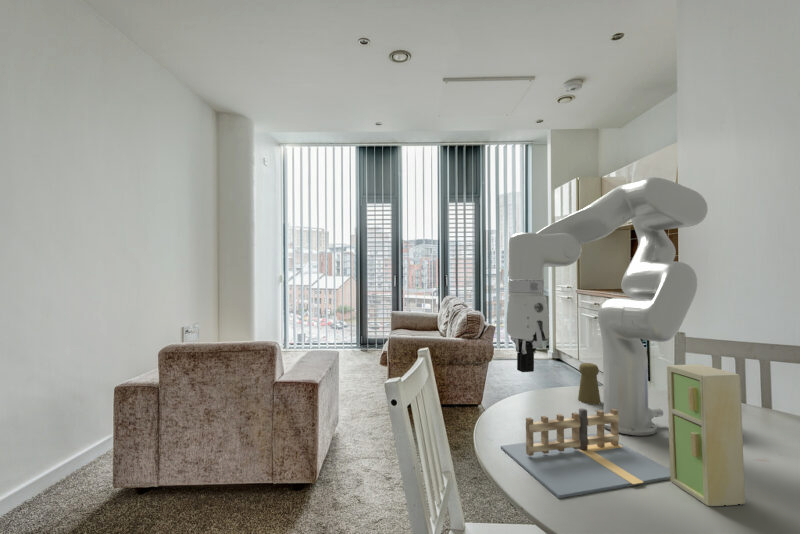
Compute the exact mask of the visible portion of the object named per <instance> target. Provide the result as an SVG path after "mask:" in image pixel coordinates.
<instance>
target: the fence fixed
mask: <svg viewBox="0 0 800 534" xmlns="http://www.w3.org/2000/svg"><path fill="white" fill-rule="evenodd" d="M578 414H579V419H580V427H579V440H581V446H579V449H580V450H583V451H587V450H588V445H593V444H597V446H598V447H600V448H604V447H605V443H608V442H611V444H612V445H614V446H618V442H620V434H619V433H618V422H619V415H618V410H616V409H611V413H608V414H604V410H596V414H592V415H590V414H589V415H588V410H587V409H586V408H579V409H578ZM608 423H611V430H610V433H605V427H604V424H608ZM591 426H596V434H597V435H596V436H588V437H587V435H588V427H591Z"/></svg>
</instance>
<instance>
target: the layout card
mask: <svg viewBox="0 0 800 534" xmlns="http://www.w3.org/2000/svg"><path fill="white" fill-rule="evenodd" d="M596 435H597V433H592V434H587V437H588V436H596ZM565 439H572V436H566V437H564V440H565ZM549 441H557V438H551V439H549ZM533 443H541V440H538V441H537V440H536V441H533ZM500 449H501V450H502V451H503V452H504V453H506V454H507V455H508V456H509V457H510V458H511V459H512V460H514V461H515V462H516V463H517V464H518V465H519V466H521V467H522V468H523V469H524V470H525V471H526V472H527V473H529V474H530V476H532V477H533V478H534V479H535V480H537V481H538V483H540V484H541V485H542V486H544V488H546V489H547V490H548V491H549V492H550V493H552V494H553V495H554V496H555V497H556V498H557V499H562V498H567V497H568V498H569V497H574V496H580V495H587V494H592V493H597V492H603V491H604V492H605V491H609V490H610V491H611V490H616V489H620V488H625V487H626V488H627V487H631V486H632V487H633V486H638V485H643V484H651V483H656V482H660V481H667V480H671V477H670V467H669V468H668V467H667V466H664V465H663V464H662V463H659V462H657V461H655V460H653V459H651V458H649V457H648V456H646V455H643V454H642V453H640V452H638V451H637V450H634V449H633V448H630V447H628V446H627V445H625V444H623V443H621V442H620V441H618V446H614V445H612V444H611V442H608V443H605V447H604V448H600V447H598V446H597V444H593V445H588V450H587V451H583V450H580V449H576V450H575V449H574V448H572V447H571V448H564V451H561V452H560V451H558V450H557V449H556V450H549V453H546V454H544V453H543V452H534V455H532V456H529V455H527V454H526V442H522V443H521V442H520V443H514V444H505V445H500Z"/></svg>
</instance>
